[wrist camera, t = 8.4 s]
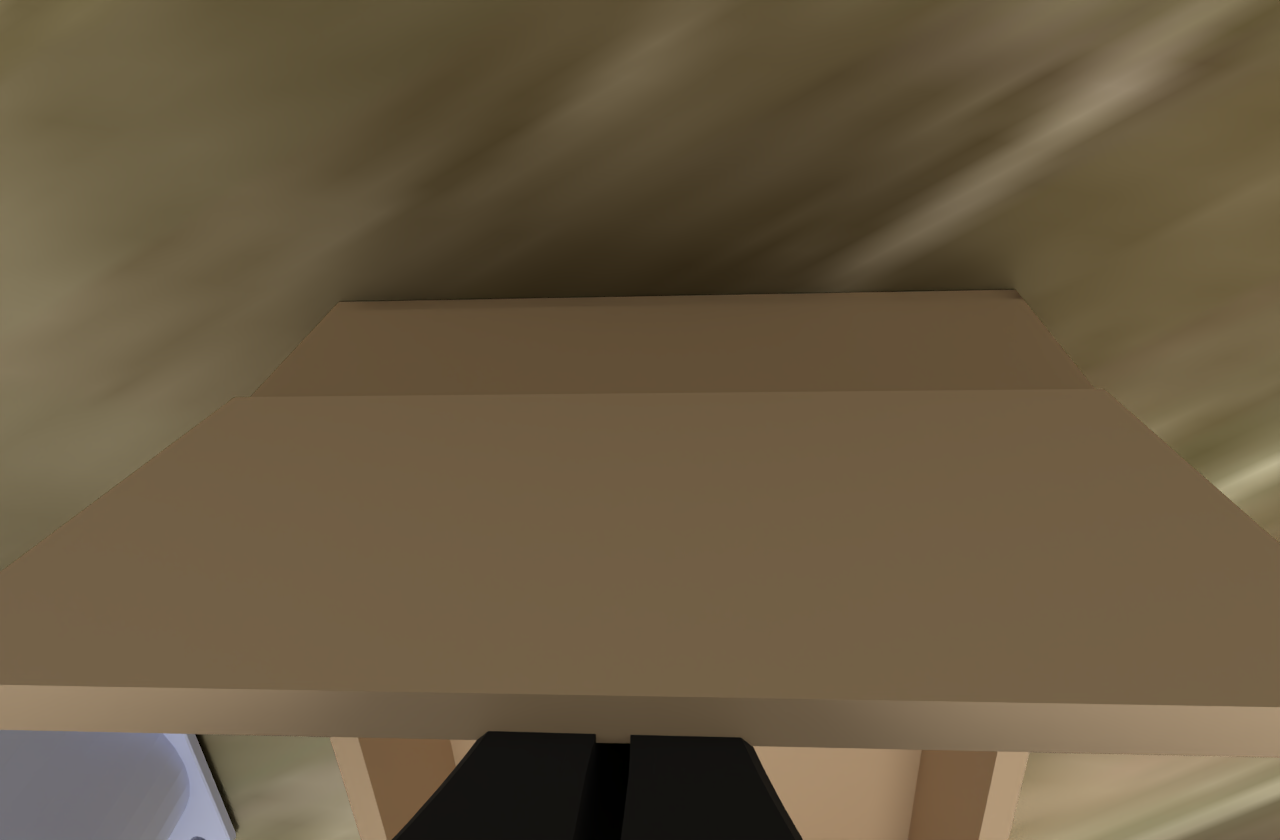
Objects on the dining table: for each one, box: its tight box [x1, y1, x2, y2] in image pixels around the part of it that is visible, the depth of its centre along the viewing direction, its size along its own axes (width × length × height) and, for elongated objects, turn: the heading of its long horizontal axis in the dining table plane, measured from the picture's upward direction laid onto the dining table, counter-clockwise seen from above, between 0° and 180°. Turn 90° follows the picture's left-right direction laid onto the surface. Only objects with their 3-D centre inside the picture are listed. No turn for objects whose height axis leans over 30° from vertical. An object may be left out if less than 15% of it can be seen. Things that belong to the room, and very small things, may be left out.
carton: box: [250, 290, 1095, 840], centre depth 21 cm, size 14×18×5 cm
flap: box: [0, 389, 1280, 758], centre depth 11 cm, size 13×7×1 cm
